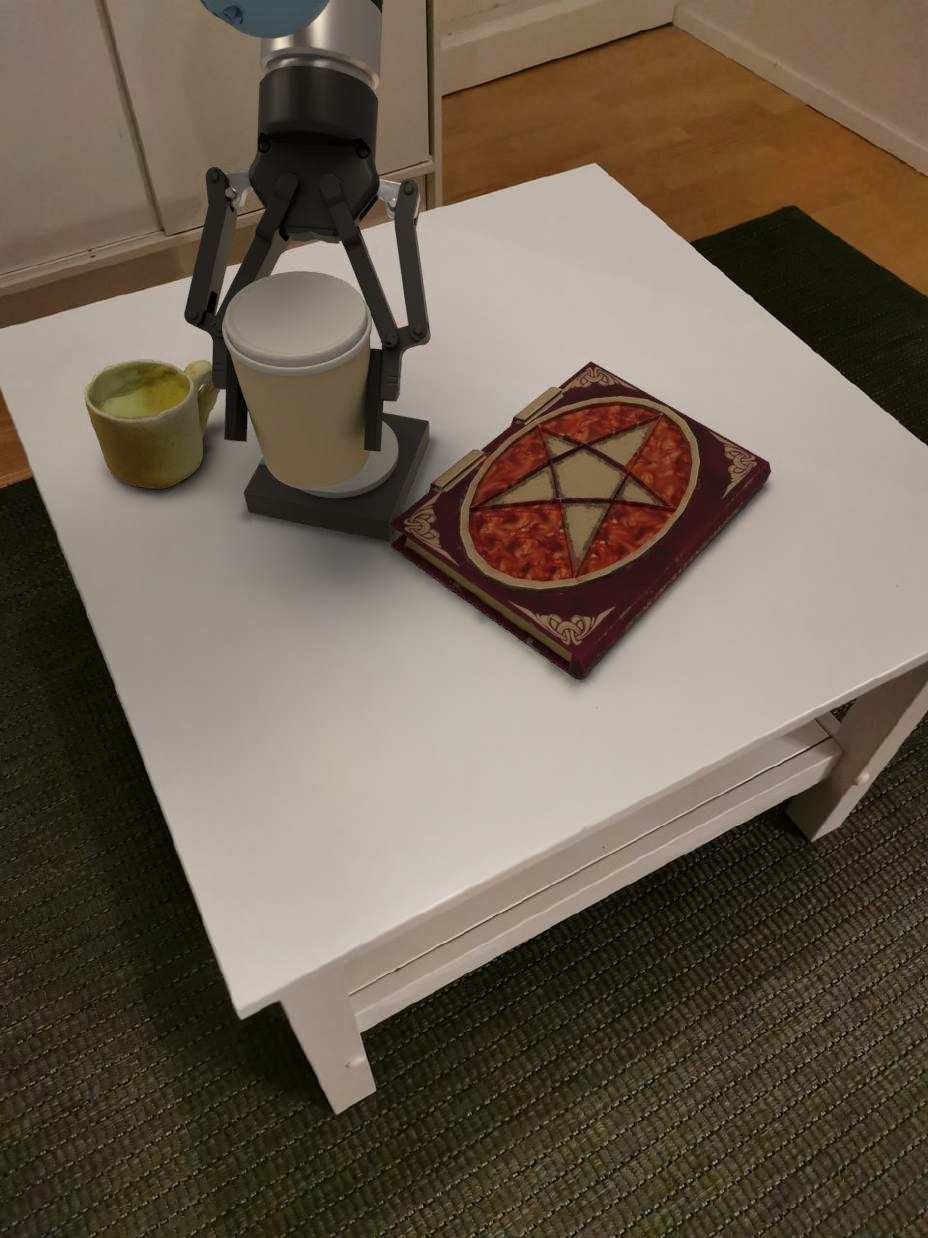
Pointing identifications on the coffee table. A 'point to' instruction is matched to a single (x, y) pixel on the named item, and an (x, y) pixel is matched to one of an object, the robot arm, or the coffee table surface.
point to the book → (579, 514)
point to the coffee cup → (303, 374)
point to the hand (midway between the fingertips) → (304, 445)
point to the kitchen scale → (351, 486)
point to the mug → (151, 419)
